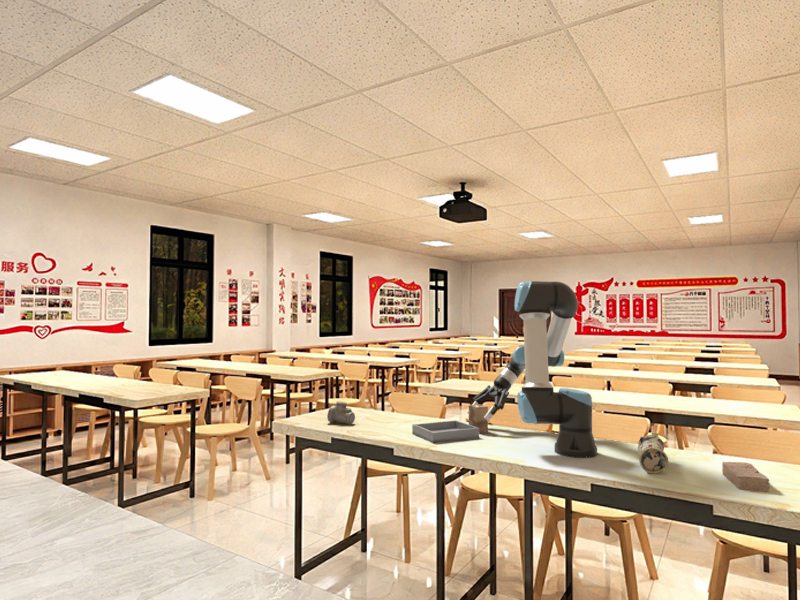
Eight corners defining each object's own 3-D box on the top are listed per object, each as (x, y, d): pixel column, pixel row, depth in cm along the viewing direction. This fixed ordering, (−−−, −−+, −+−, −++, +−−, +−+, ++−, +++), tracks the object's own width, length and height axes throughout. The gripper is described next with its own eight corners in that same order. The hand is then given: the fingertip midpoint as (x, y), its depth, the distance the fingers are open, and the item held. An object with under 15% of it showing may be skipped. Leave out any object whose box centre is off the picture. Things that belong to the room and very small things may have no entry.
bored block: (487, 431, 232) (487, 406, 232) (476, 433, 229) (476, 407, 230) (479, 429, 237) (480, 404, 238) (468, 430, 235) (468, 405, 235)
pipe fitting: (325, 422, 247) (328, 400, 248) (334, 421, 254) (338, 399, 255) (346, 428, 241) (349, 406, 242) (355, 426, 248) (359, 404, 249)
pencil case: (637, 457, 191) (637, 430, 191) (664, 460, 188) (664, 432, 188) (639, 474, 171) (638, 444, 171) (668, 477, 167) (668, 446, 168)
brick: (771, 493, 154) (770, 477, 154) (738, 490, 156) (738, 474, 156) (750, 477, 169) (750, 462, 170) (721, 475, 172) (721, 460, 172)
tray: (479, 437, 220) (479, 428, 220) (433, 443, 211) (433, 432, 211) (456, 429, 237) (456, 420, 237) (412, 433, 227) (412, 424, 227)
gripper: (527, 389, 231) (499, 427, 224) (493, 383, 253) (466, 417, 246) (517, 378, 229) (488, 416, 222) (484, 372, 251) (457, 406, 244)
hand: (477, 416), depth 234 cm, fingers open, 13 cm apart
